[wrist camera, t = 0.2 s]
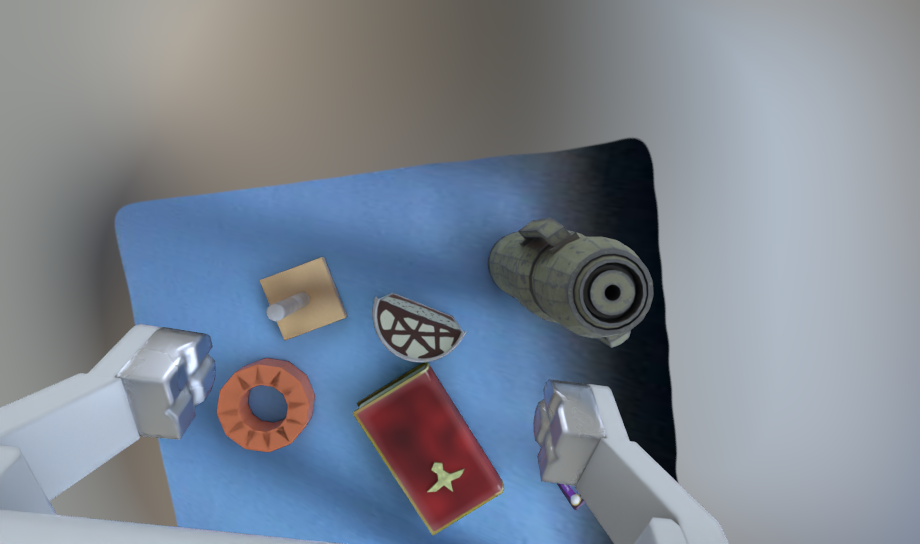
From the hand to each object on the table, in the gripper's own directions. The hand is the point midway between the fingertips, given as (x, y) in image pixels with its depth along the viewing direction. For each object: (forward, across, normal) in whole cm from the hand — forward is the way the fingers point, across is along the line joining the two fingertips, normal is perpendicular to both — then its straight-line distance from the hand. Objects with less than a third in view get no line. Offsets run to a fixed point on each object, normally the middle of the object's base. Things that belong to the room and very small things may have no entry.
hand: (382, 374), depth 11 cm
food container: (+43, 0, -34) cm, 55 cm away
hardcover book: (+35, +5, -49) cm, 60 cm away
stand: (+44, -15, -32) cm, 57 cm away
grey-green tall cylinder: (+48, +14, -24) cm, 56 cm away
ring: (+37, -18, -46) cm, 62 cm away
